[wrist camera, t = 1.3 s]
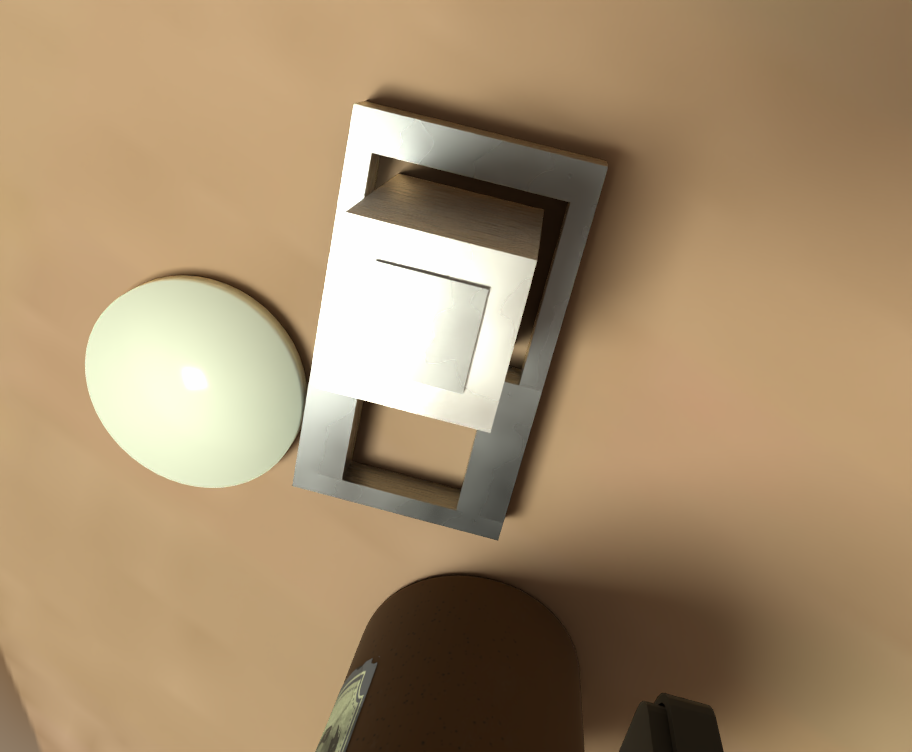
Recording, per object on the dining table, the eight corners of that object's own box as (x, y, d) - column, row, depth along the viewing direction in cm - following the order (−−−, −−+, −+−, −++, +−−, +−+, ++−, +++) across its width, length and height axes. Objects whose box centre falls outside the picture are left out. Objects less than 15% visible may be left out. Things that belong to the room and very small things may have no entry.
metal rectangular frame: (365, 101, 25) (353, 103, 24) (605, 160, 25) (608, 166, 24) (304, 466, 31) (292, 485, 30) (500, 518, 31) (498, 540, 29)
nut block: (398, 173, 26) (343, 213, 20) (544, 209, 26) (536, 261, 20) (372, 311, 28) (314, 389, 22) (507, 346, 28) (489, 435, 22)
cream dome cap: (100, 250, 29) (88, 255, 28) (322, 307, 28) (316, 314, 28) (93, 447, 32) (81, 456, 31) (291, 500, 32) (284, 511, 31)
